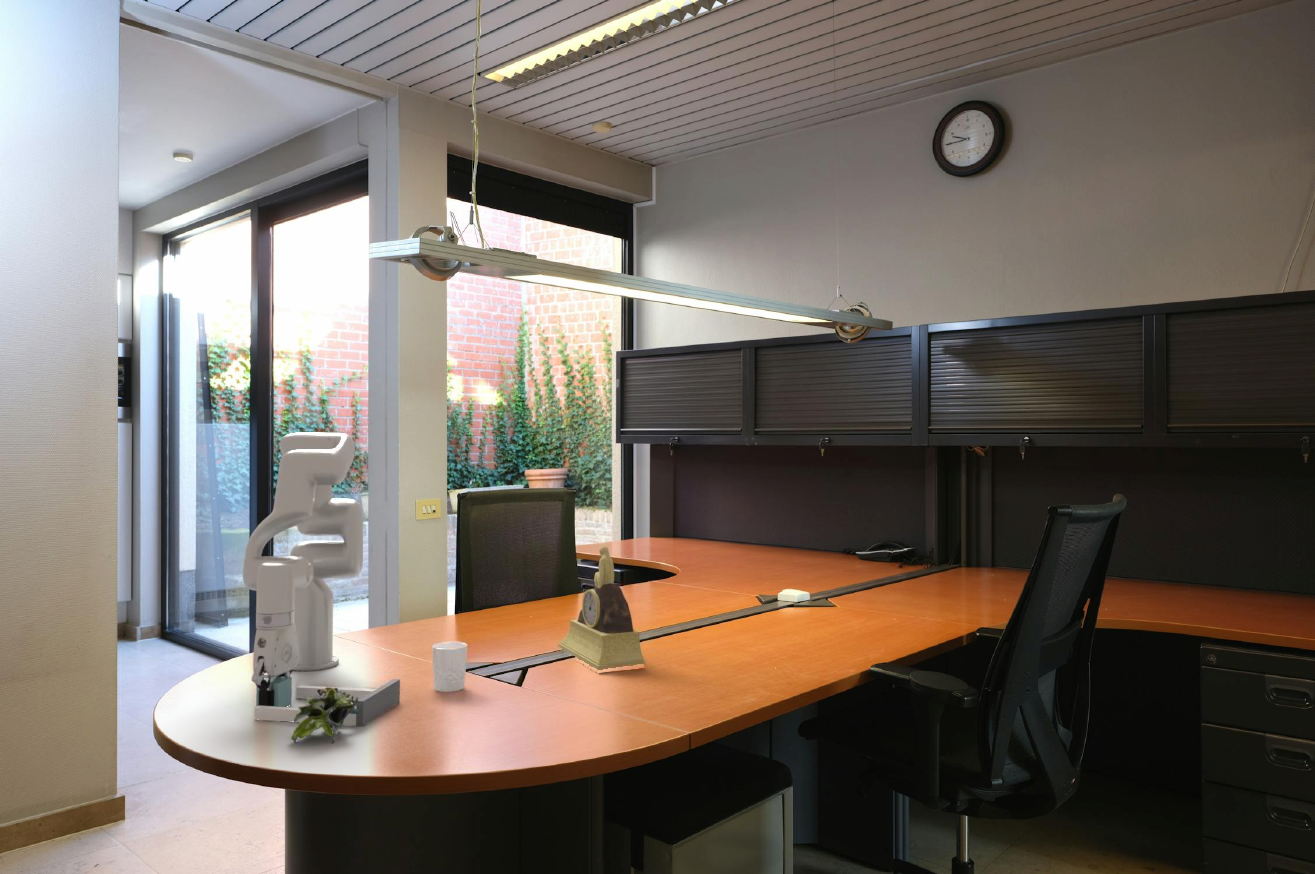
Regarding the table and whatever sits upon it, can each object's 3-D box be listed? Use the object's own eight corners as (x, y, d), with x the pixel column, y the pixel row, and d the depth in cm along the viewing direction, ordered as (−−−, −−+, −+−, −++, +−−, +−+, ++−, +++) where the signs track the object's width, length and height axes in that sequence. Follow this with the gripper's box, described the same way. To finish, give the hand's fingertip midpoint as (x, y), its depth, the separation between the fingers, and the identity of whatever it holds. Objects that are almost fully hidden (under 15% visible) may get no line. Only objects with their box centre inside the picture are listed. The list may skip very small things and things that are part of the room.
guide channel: (254, 720, 180) (254, 695, 180) (299, 696, 197) (300, 674, 197) (363, 726, 176) (363, 701, 177) (399, 702, 193) (399, 679, 193)
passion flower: (326, 759, 173) (359, 702, 179) (343, 765, 165) (377, 704, 170) (275, 734, 169) (310, 676, 174) (290, 738, 160) (326, 677, 166)
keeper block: (256, 710, 186) (256, 682, 186) (269, 703, 191) (270, 676, 191) (278, 711, 186) (278, 683, 186) (291, 705, 190) (291, 677, 191)
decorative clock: (557, 650, 244) (559, 542, 244) (600, 646, 250) (601, 540, 250) (598, 674, 219) (599, 553, 219) (644, 669, 225) (645, 551, 225)
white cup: (432, 694, 200) (433, 650, 200) (431, 685, 207) (431, 642, 208) (467, 691, 202) (468, 648, 202) (465, 682, 210) (466, 640, 210)
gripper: (268, 628, 180) (267, 718, 179) (312, 613, 196) (311, 694, 196) (234, 627, 181) (233, 716, 180) (281, 611, 198) (280, 693, 197)
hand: (274, 704), depth 188 cm, fingers closed on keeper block, 5 cm apart
